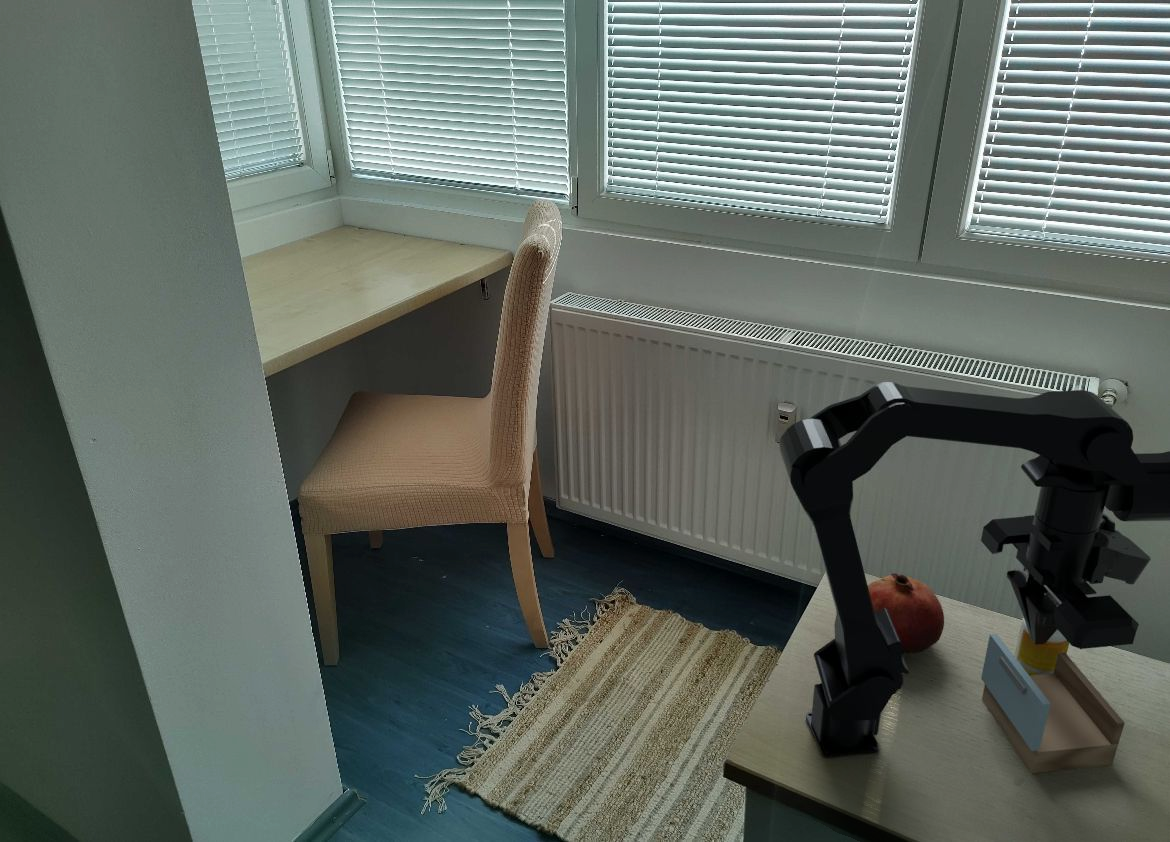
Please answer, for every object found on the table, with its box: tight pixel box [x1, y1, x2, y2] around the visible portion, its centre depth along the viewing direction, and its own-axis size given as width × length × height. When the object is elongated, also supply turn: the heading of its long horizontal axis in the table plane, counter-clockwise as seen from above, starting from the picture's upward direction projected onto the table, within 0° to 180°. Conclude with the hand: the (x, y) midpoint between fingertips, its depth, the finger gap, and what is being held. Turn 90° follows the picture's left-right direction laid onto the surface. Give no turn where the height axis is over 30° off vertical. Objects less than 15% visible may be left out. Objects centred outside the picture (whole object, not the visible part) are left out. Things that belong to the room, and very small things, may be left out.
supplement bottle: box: [1013, 615, 1070, 676], centre depth 108 cm, size 5×5×10 cm
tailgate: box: [980, 633, 1051, 751], centre depth 98 cm, size 1×11×6 cm, turn 6°
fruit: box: [867, 572, 945, 655], centre depth 114 cm, size 11×10×10 cm
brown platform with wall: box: [981, 653, 1126, 774], centre depth 100 cm, size 9×11×6 cm
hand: (1038, 642), depth 96 cm, fingers closed
